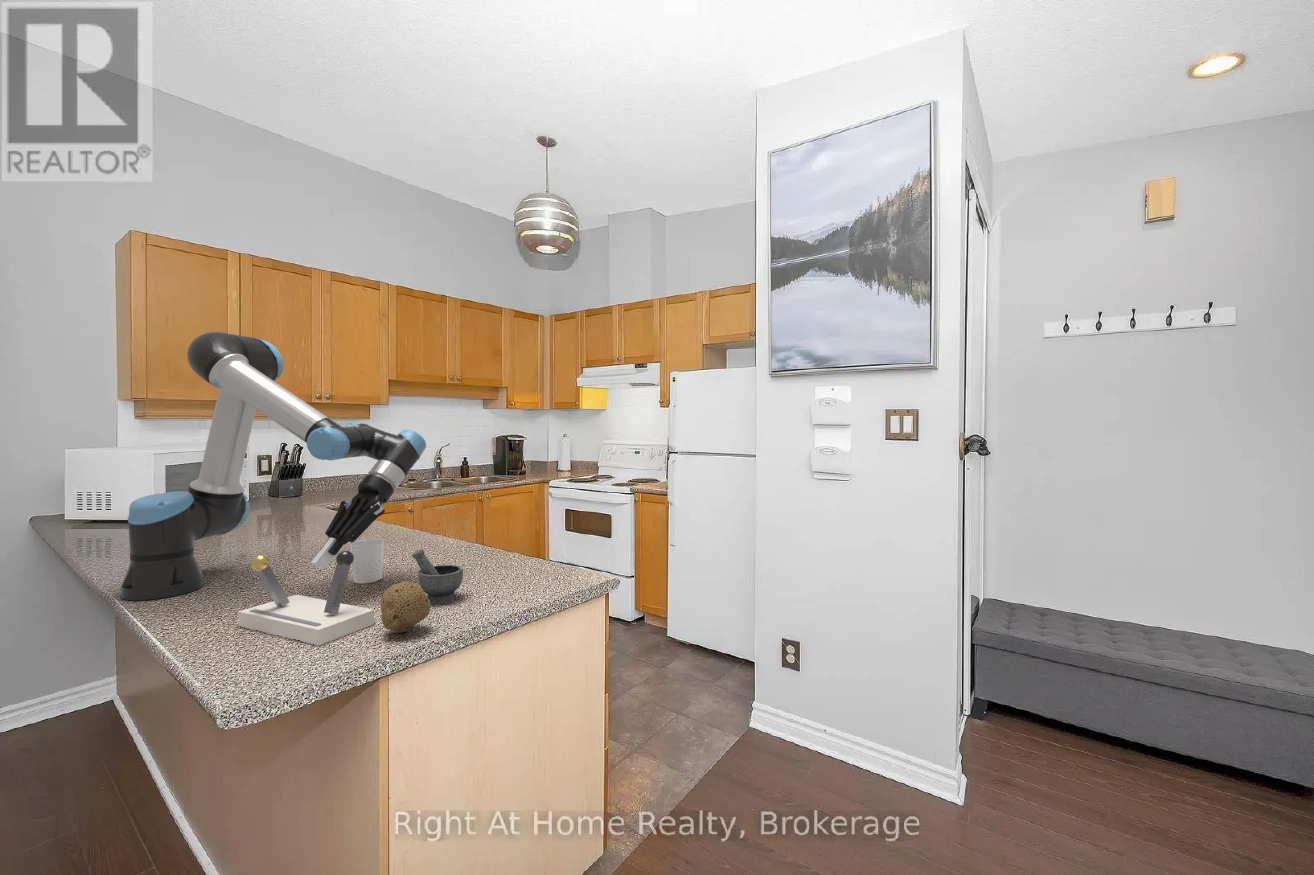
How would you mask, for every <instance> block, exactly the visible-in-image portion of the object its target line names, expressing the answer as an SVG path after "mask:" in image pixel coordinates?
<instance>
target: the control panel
mask: <svg viewBox="0 0 1314 875" xmlns="http://www.w3.org/2000/svg"><path fill="white" fill-rule="evenodd" d="M287 598H288V600H289V603H288V604H287V605H285V606H284V607H279V606H276V604H275V602H274V601H273V600H272V601H269V602H267V603H262V604H259V605H256V606H253V607H249V608H245V609H242V610H239V611H238V614H237V615H238V627H240V626H241V628H244V627H245V629H249V630H252V631H256V630H258V631H257V632H260V631H262V632H261V633H264V632H265V634H268V635H274V636H277V635H279V636H278V637H281V636H282V637H281V638H285V637H287V638H286V639H289V638H290V639H289V640H293V639H296V640H295V641H297V640H300V641H299V642H301V641H303V642H302V643H305V642H306V643H305V644H308V645H309V644H310V645H313V644H314V645H313V646H318V647H319V646H323V645H325V644H327V643H330V642H332V641H335V640H338V639H340V638H342V637H343V638H344V637H346V636H348V635H350V634H353V633H355V632H357V631H360V630H363V629H365V628H367V627H370V626H373V625H375V609H372V608H368V607H367V608H366V607H362V606H356V605H352V604H345V603H342V602H341V603H340V607H339V611H338V614H329V613H325V612H324V610H325V606H326V602H327V599H321V598H316V597H310V596H306V595H301V594H294V595H290V596H287Z"/></svg>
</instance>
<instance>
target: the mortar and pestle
mask: <svg viewBox="0 0 1314 875" xmlns="http://www.w3.org/2000/svg"><path fill="white" fill-rule="evenodd" d="M411 556H412V558H413V559H415V562H416V563H417V565H418V567H419V569H420V570H418V581H419V582H418V583H419V585H420V587H421V588H422V589H423V591H424V592H425V594H426V595H427V597H428V599H429V600H430V603H431V604H434V605H435V604H446V603H450V602H452V601H454V600H455V599H456V593H455V592H456V591H457V590H458V589H459V588H460V585H461V584H462V582H463V579H464V578H463V577H464V569H463V567H462V566H460V565H454V564H442V565H441V564H438V565H433V564H432V563H431V561H430V559H429V558H428V557H427V556H426V554H425V550H424V549H423V548H420V549H417V550H416V551H415V552H413V553H412V554H411Z"/></svg>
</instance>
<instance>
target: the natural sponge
mask: <svg viewBox="0 0 1314 875" xmlns="http://www.w3.org/2000/svg"><path fill="white" fill-rule="evenodd" d="M427 595H428V594H426V593H425V592H424V591H423V589H422V587H421V585H420V586H419V585H418V584H417V583H415V582H412V581H409V580H408V581H406V580H404V581H402V582H398V583H395V584H393V585H391V586H389V587H388V588H387V589H386V590H385V592H384V593H383V594H382V596H381V601H380V611H381V614H380V615H381V622H382V625H383V627H384V628H385V629H387V630H390V631H394V632H395V633H397V634H402V633H407V632H408V631H410V630H412V629H413V628H414V626H416V625H417V624H419V623H421V622H422V621H424V620H425V619H426V618H427V617H428V616H429V614H430V612H431V606H432V605H431V604H432V603H430V600H429V599H428V597H427Z"/></svg>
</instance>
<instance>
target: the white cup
mask: <svg viewBox="0 0 1314 875" xmlns="http://www.w3.org/2000/svg"><path fill="white" fill-rule="evenodd" d="M384 547H385V540H384V539H380V538H368V539H359V540H358V539H357V540H355V541H354V542H353V543H351V542H349V548H350V550H349V551H350V552H351V553H352V554H353V555H354V561H353V562H352V564H351V565H350V567H351V572H352V582H353V583H355V584H362V585H363V584H370V583H371V584H372V583H376V582H379V581H381V580H382V579H383V568H384V553H385V548H384ZM380 579H381V580H380ZM378 580H379V581H378Z"/></svg>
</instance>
